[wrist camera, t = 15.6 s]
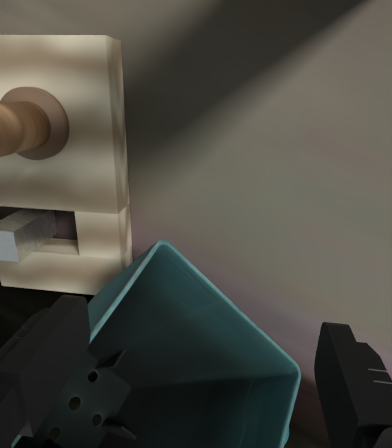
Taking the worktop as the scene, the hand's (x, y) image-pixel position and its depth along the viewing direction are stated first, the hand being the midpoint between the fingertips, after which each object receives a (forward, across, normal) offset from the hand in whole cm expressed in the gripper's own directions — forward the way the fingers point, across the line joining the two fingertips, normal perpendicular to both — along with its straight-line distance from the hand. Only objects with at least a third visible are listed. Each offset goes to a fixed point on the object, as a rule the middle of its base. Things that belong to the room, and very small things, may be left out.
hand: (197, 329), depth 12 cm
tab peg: (+28, +24, +8) cm, 38 cm away
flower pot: (+22, +20, +32) cm, 44 cm away
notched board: (+28, +20, +2) cm, 35 cm away
